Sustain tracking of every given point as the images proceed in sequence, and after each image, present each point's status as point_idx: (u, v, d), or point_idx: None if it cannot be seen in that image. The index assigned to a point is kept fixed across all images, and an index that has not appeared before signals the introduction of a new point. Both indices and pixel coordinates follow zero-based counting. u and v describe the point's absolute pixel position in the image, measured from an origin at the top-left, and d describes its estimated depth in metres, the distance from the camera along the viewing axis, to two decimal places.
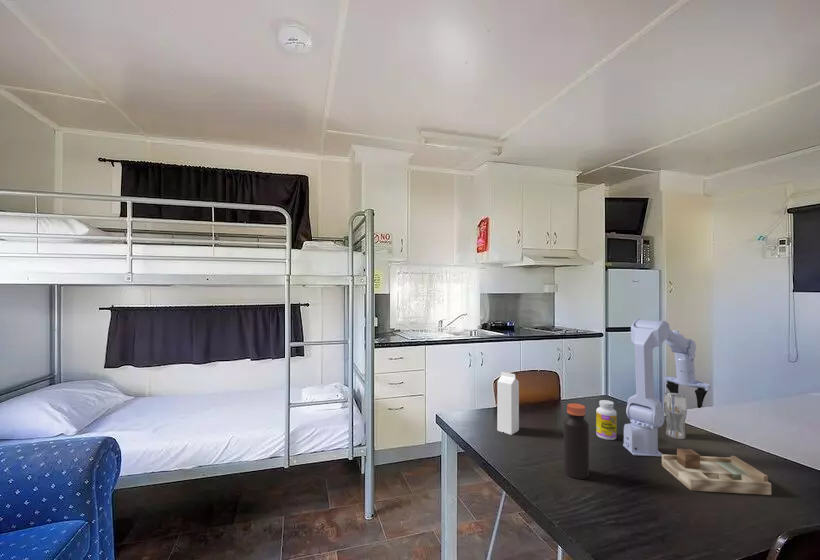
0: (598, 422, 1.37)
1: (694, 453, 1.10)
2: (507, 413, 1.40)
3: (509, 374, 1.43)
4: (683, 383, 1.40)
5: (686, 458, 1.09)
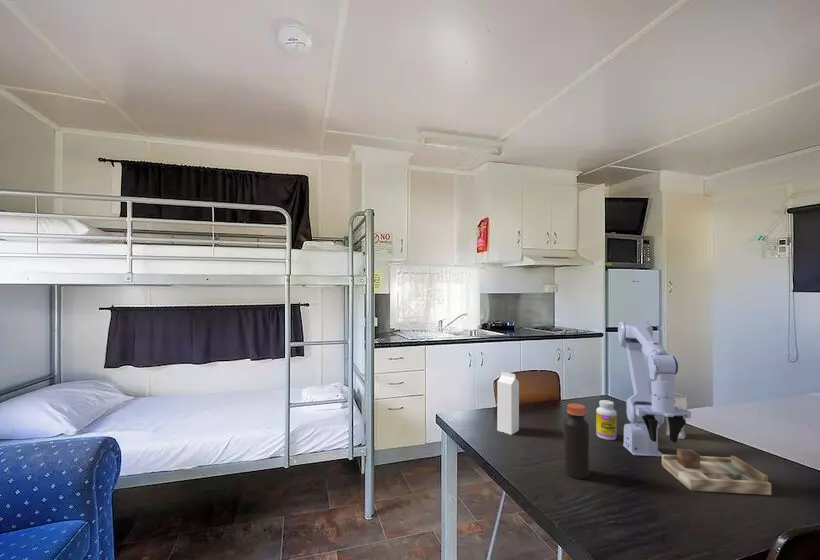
0: (598, 422, 1.37)
1: (694, 453, 1.10)
2: (507, 413, 1.40)
3: (509, 374, 1.43)
4: None
5: (686, 458, 1.09)
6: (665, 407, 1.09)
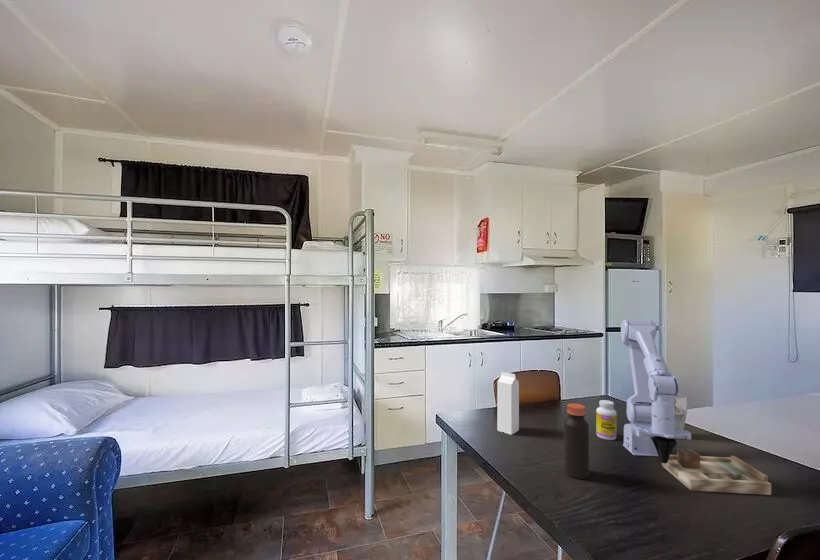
0: (598, 422, 1.37)
1: (694, 453, 1.10)
2: (507, 413, 1.40)
3: (509, 374, 1.43)
4: None
5: (686, 458, 1.09)
6: (665, 428, 1.09)
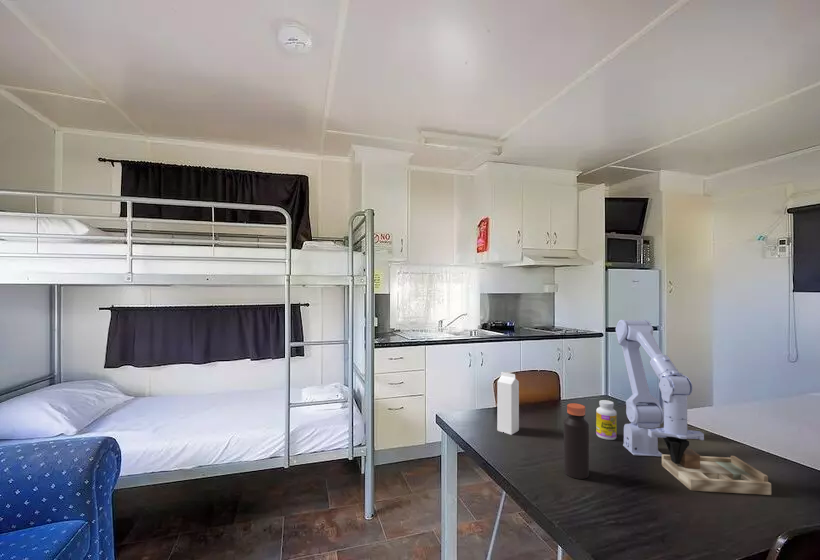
0: (598, 422, 1.37)
1: (694, 453, 1.10)
2: (507, 413, 1.40)
3: (509, 374, 1.43)
4: None
5: (686, 458, 1.09)
6: (677, 429, 1.09)
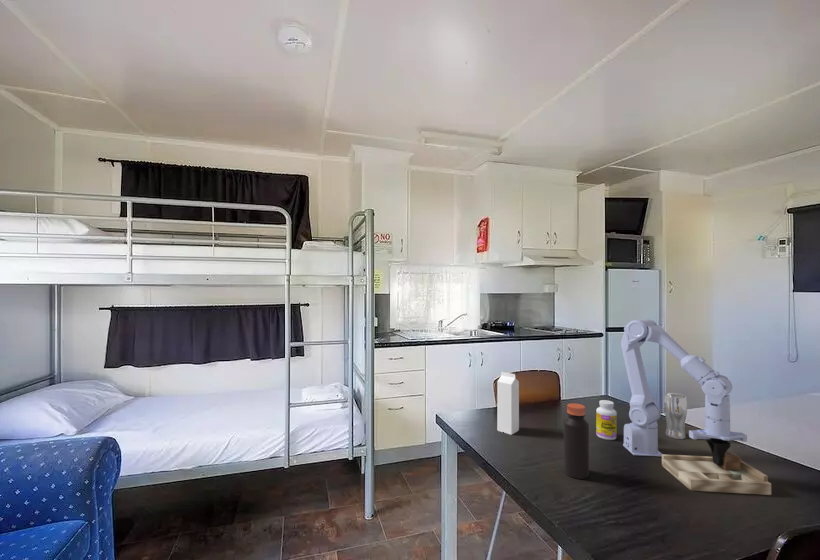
0: (598, 422, 1.37)
1: (734, 455, 1.09)
2: (507, 413, 1.40)
3: (509, 374, 1.43)
4: None
5: (727, 459, 1.08)
6: (720, 430, 1.08)
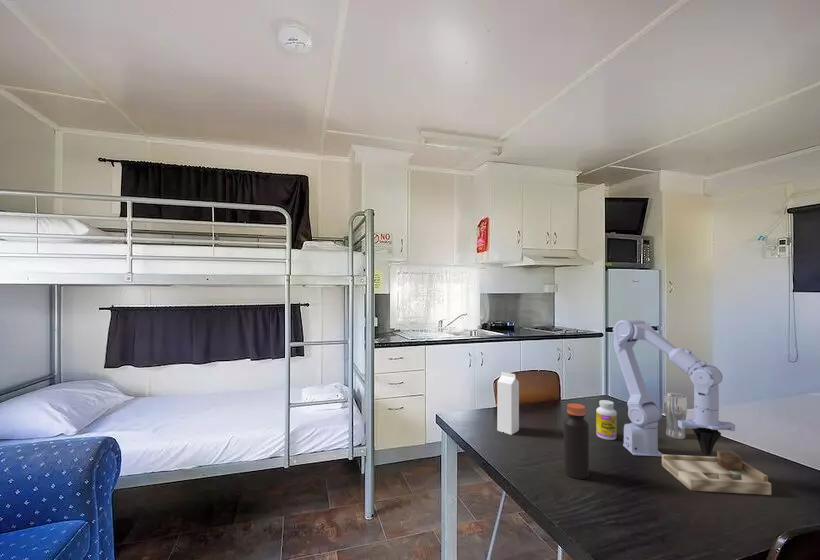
0: (598, 422, 1.37)
1: (736, 455, 1.09)
2: (507, 413, 1.40)
3: (509, 374, 1.43)
4: None
5: (728, 460, 1.08)
6: (709, 420, 1.08)
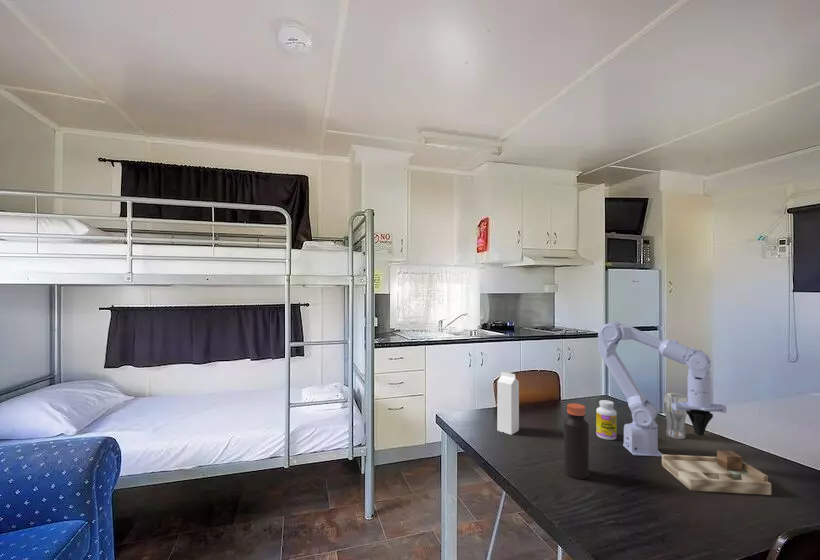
0: (598, 422, 1.37)
1: (736, 455, 1.09)
2: (507, 413, 1.40)
3: (509, 374, 1.43)
4: None
5: (728, 460, 1.08)
6: (701, 402, 1.14)
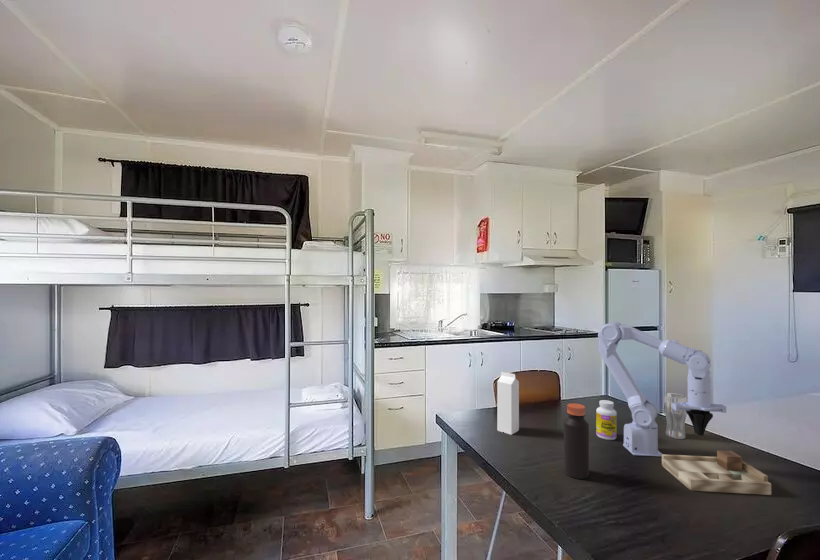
0: (598, 422, 1.37)
1: (736, 455, 1.09)
2: (507, 413, 1.40)
3: (509, 374, 1.43)
4: None
5: (728, 460, 1.08)
6: (701, 402, 1.14)
